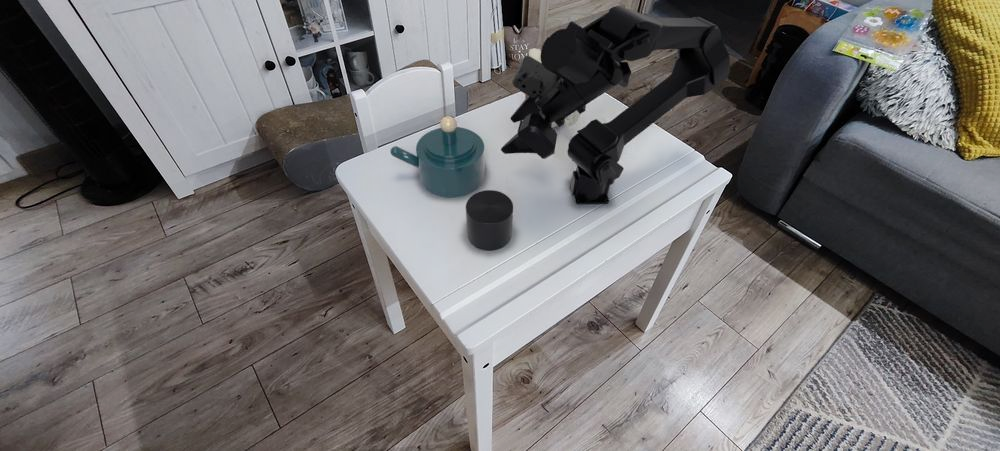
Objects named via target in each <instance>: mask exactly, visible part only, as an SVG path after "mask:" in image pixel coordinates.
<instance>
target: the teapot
mask: <svg viewBox="0 0 1000 451" xmlns="http://www.w3.org/2000/svg"><path fill="white" fill-rule="evenodd" d="M450 116H451V117H453V118H454V119H455V116H453V115H450ZM458 127H459V128H463V129H465V130H467V131H468V132H470V133H471V134H472V136H473V138H474V146H473V149H472V150H471V151H470V152H469V153H468V154H466V155H464V156H462V157H459V158H454V159H443V158H439V157H436V156H434V155H432V154H431V153H429V152H428V150H427V149H426V145H425V140H426V138H427V136H428V135H429V134H430V133H431V132H433V131H434V130H436V129H439V128H440V127H438V128H435V129H432V130H430V131H428V132H426V133H425V134H423V135H422V136H421V137H420V138H419V139H418V141H417V143H416V146H415V153H416V155H415V154H414V153H411V152H409V151H408V150H406V149H403V148H402V147H399V146H392V147H391V148H390V152H389V153H390V154H391V156H392V157H394V158H396V159H398V160H399V161H402V162H404V163H406V164H409V165H410V166H413V167H415V168H417V169H418V174H419V180H420V183H421V185H422V187H423V188H424V189H425V190H426V191H427V192H428V193H431V194H433V195H435V196H438V197H443V198H460V197H463V196H468V195H469V194H471V193H473V192H475V191H476V190H478V189H479V188H480V187H481V186H482V185H483V183H484V181H485V180H484V179H485V142H484V140H483V139H482V137H481V136H480V135H479V134H478V133H476V132H474V131H473V130H470V129H468V128H465V127H460V126H458Z"/></svg>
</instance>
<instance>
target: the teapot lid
mask: <svg viewBox="0 0 1000 451" xmlns="http://www.w3.org/2000/svg"><path fill="white" fill-rule="evenodd" d="M451 116H452V115H447V116H446V115H445V116H444V117H443V118H441V120H440V123H439V126H440V127H438V128H439V129H438V128H435V129H436V130H435V129H433V130H434V131H433V132H431V133H430V134H429V135H428V136H427V138H426V140H425V145H426V149H427V150H428V152H429V153H431V154H432V155H434V156H436V157H439V158H443V159H454V158H459V157H462V156H464V155H466V154H468V153H469V152H470V151H471V150H472V149H473V146H474V138H473V136H472V134H471V133H470V132H468V131H467V130H465V129H466V128H465V129H463V128H464V127H461V128H459V127H460V126H458V125H457V124H458V123H457V121H456V119H455V117H454V116H453V117H454V118H453V117H451Z"/></svg>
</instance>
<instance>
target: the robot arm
mask: <svg viewBox="0 0 1000 451" xmlns="http://www.w3.org/2000/svg"><path fill="white" fill-rule="evenodd" d="M721 33H722V32H721V29H720V28H719V27H718V25H717V24H714V23H713V22H710V21H708V20H706V19H704V18H702V17H700V16H692V17H659V16H658V17H656V16H655V17H654V16H652V17H651V16H648V15H646V14H642V13H640V12H638V11H635V10H632V9H630V8H627V7H624V6H622V5H616V6H612V7H611V8H609V9H608V12H606V13H604V14H603V15H601V16H600V17H597V18H596V19H595V20H593V21H591V22H590V23H588V24H587V25H584V27H582V26H581V25H579V24H578V23H577V22H575V21H573V20H571V21H570V22H569V23H568V25H567V26H566V28H560V29H559V30H555V31H554V32H553V33H552V34H550V36H547V37H546V38H545V40H544V42H543V44H542V46H541V49H540V50H541V62H542V63H540V62H538V61H537V60H535V59H533V58H532V57H530V55H525V56H523V59H522V60H521V62H520V64H518V65H519V66H518V67H517V69H516V71H515V73H514V75H513V76H514V77H513V79H512V82H511V83H512V85H513V86H514V88H515V89H517V90H519V91H520V92H521V93H523V94H524V95H525V94H526V95H528V96H527V98H526V99H525V98H524V100H523V101H522V102H521V104H520V105H519V106H518V108H517V109H516V110H514V112H513V114H512V115H510V121H512V123H517V122H519V124H518V127H517V132H516V133H515V134H514V135H513V137H511V138H510V139H508V141H507V142H505V143H504V145H503V146H502V147H501V148H500V151H501V153H503V154H505V155H508V154H509V155H510V154H511V155H512V154H536V155H537V156H538V157H540V158H541V159H542V160H545V159H547V158H549V157H551V156H552V155H554V154H555V151H556V146H557V141H558V140H557V139H558V132H556V130H555V129H554V127H553V128H552V127H551V125H552V122H555V123H556V124H557V125H558V126H557V127H558V128H560V127H562V126H565V125H564V122H565V119H567V118H568V117H569V116H571V115H573V114H574V112H575V111H578V112H579V114H580V115H582V114H583V113H584V112H586V109H587V108H586V107H587V105H589V103H591V102H592V101H594V100H596V99H597V98H599V97H600V96H602V95H604V94H605V93H607V92H608V91H610V90H612V89H613V88H614V87H616V86H617V85H619V86H620V87H622V88H627V87H628V85H629V80H630V77H631V76H632V70H631V67H630V65H629V62H635V61H638V60H642V59H645V58H648V57H649V56H651V54H652V53H653V52H654V51H657V50H659V51H661V50H677V56H678V57H677V59H676V60H675V62H674V65H673V67H672V71H671V73H670V74H669V76H667V77H666V78H664V79H663V80H662V81H661V82H660V83H658V84H657V85H656V86H654V87H653V88H651V89H650V90H649V91H648V92H646V93H645V94H644V95H643V96H641V97H640V98H639V99H637V100H636V101H635V102H633V103H632V104H631V105H629V106H628V107H627V108H626V109H624V110H623V111H622V112H620V113H619V114H618V115H616V116H615V117H614V118H612V120H610V121H608V122H604V123H602V122H601V121H600V120H599V119H597V118H595V119H593V120H591V121H590V122H588V124H587V125H584V127H582V128H581V129H578V130H577V131H576V134H575V135H574V136H572V137H571V138H570V140H569V142H568V146H567V147H568V148H567V156H568V157H569V159H570V160H571V161H572V162H573V163H575V164H576V168H575V170H573V171H572V175H571V179H570V185H569V187H570V192H571V195H572V196H573V198H574V203H575V204H576V205H608V204H609V203H610V198H609V195H608V194H609V190H610V187H611V185H613V184H614V183H615V180H617V179H619V178H620V176H621V175H622V173H623V172H624V167H623V166H622V165H621V164H620V163H619V161H620V159H621V156H622V154H623V152H624V149H625V146H626V145H627V144H628V143H630V142H631V141H633V139H634V138H636V137H637V136H638V135H640V134H641V133H643V132H644V131H645V130H647V129H648V128H649V127H650V126H652V125H653V124H654V123H656V122H657V121H658V120H659V119H660V118H662V117H664V115H666V114H667V113H668V112H670V111H672V109H674V108H675V107H676V106H677V105H679V104H681V102H683V101H684V100H685V99H687V98H692V97H699V96H704V95H706V94H708V93H709V92H711V91H712V90H714V89H715V88H717V87H718V86H721V85H722V84H724V83H725V81H726V80H727V79H728V77H729V75H730V72H731V59H730V58H731V57H730V53H729V52H728V49H727V48H726V46H725V44H724V42H723V40H722V36H721Z"/></svg>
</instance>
